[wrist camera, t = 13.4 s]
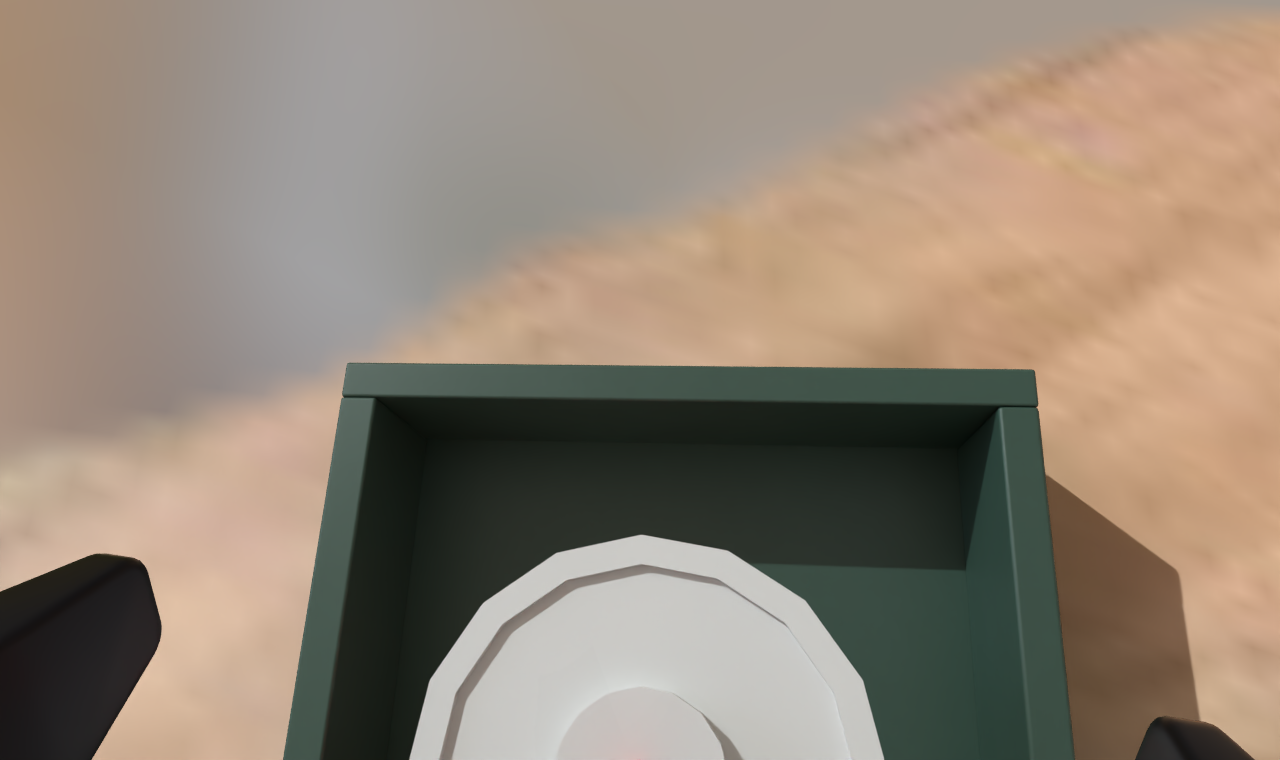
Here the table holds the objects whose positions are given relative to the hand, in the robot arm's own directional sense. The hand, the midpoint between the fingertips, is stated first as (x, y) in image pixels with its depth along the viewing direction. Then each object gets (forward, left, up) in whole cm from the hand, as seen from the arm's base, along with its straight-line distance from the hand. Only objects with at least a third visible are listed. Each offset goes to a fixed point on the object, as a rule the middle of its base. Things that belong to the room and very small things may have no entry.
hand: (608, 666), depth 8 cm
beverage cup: (-1, +1, -13) cm, 13 cm away
